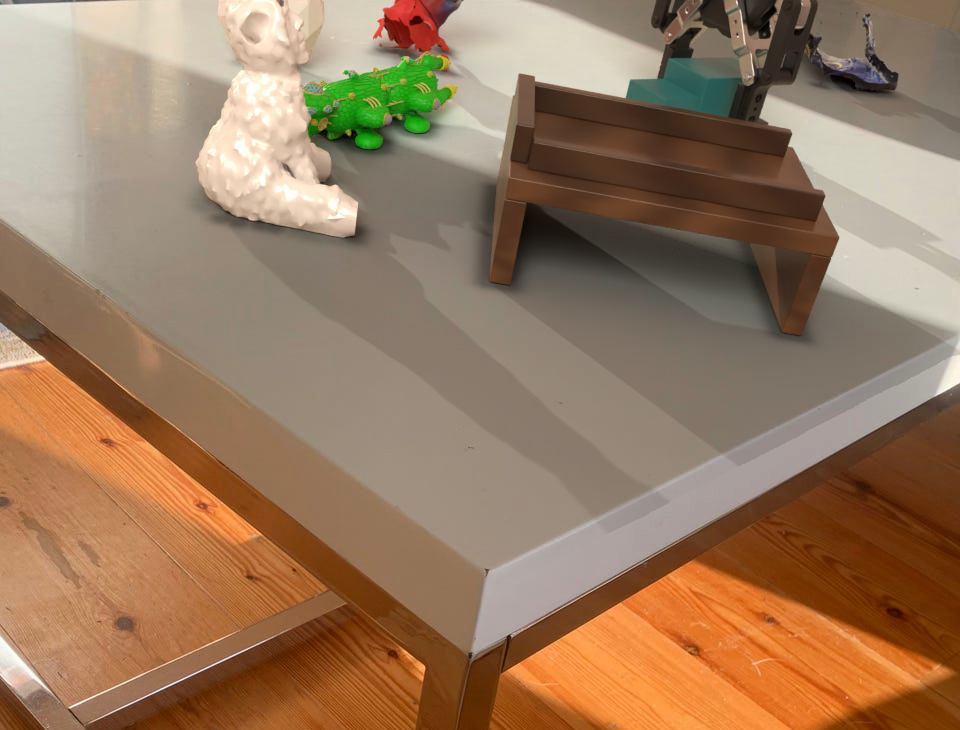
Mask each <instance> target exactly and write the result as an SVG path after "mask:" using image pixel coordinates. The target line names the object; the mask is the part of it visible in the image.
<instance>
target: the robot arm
mask: <svg viewBox="0 0 960 730" xmlns="http://www.w3.org/2000/svg"><path fill="white" fill-rule="evenodd" d="M672 1H673V0H655V4H654V8H653V11H652V15H651V19H650V24H651V27H652V28H653V29H655V30H656V29H657V30H659V31H660V33H661V34H662V40H663V42H664V44H665V46H664V49H663V54H662V57H661V62H660V65H659V70H658V72H657V77H656V79H664V75H665V71H666V68H667V64H668V60H669V58H693V54H694V48H692V47H691V46H690V45H692V44H694V43H695V42H696V41H697V40H698V39H699V37H700V36H701V35H703V34H704V33H705V31H707V30H708V29H716V30H717V31H718V32H719V33H720V34H721V35H722V36H724V37H726V38H727V39H731V40H730V41H731V47H732V51H733V53H734V55H736V56H737V57H738V60H739V64H740V71H741V79H742V83H738V86H737V90H736V93H735V96H734V99H733V103H732V106H731V109H730V112H729V116H728V118H734V119H739V120H744V121H749V122H755V123H757V122H758V119H759V118H760V117H759V115H760V116H761V114H760V111H761V109H762V110H763V108H762V106H763V107H764V105H763V103H764V104H765V102H764V100H765V101H766V99H765V97H766V98H767V96H766V94H767V95H768V92H769V90H770V88H771V87H773V86H791V85H793V84H795V82H796V80H797V76H798V73H799V70H800V67H801V63H802V60H803V58H804V57H803V56H804V54H805V51H806V50H805V47H806V44H807V41H808V38H809V34H810V33H811V31H812V28H813V26H814V25H813V24H814V21H815V18H816V16H817V11H818V9H819V8H818V7H819V2H818V0H674V2H673V5H672V9H671V11H670V12H669V10H670V7H671V4H672ZM756 34H758V38H752V37H754V36H755V35H756ZM767 91H768V92H767ZM761 112H762V111H761Z"/></svg>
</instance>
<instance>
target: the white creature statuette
mask: <svg viewBox="0 0 960 730" xmlns="http://www.w3.org/2000/svg"><path fill="white" fill-rule="evenodd" d="M224 5H225V9H226V12H227V16H226V19H225V26H226V30H227V34H228V37H229V39H230V40H229V39H228V40H229V44H230V47H231V48H232V50H233V51H234V53H235V56H236V61H237V62H238V63H239V64H240V65H241V66H242V68H243V69H241V70H240V71H239V72H238V73H237V75H236V76H235V77H234V78H233V79H232V80H231V84H230V85H231V86H230V87H229V88H228V90H227V99H226V101H225V102H224V103H223V107H222V108H221V110H220V112H221V113H220V114H221V115H220V118H219V119H218V120H216V123H215V124H214V125H213V126H212V127H211V129H210V130H209V133H208V136H207V137H206V139H204V141H203V146H202V148H201V149H200V151H198V155H199V156H198V158H197V159H196V160H195V162H194V163H195V165H196V168H197V169H196V172H197V173H198V177H197V178H198V183H199V185H201V186H202V188H203V189H204V190H203V191H204V193H205V195H206V196H207V198H209V199H210V201H213V202H215V203H216V204H218V205H219V206H220V207H221V208H222V209H223V210H224V211H225V212H229V214H231V215H232V216H235V217H236V218H243V219H248V220H249V221H252V222H256V221H260V222H263V223H265V224H266V223H268V224H272V225H276V226H282V227H287V228H293V229H297V230H302V231H307V232H312V233H316V234H317V233H318V234H321V235H327V236H331V237H336V238H343V239H344V238H347V237H353V236H355V235H356V227H357V219H358V210H359V201H358V200H356V199H354V198H353V197H352V196H350V195H348V194H347V193H345V192H344V190H343V189H342V188H340V186H339V185H338V184H333V185H327V184H324V183H325V182H326V181H327V180H328V178H329V177H330V175H331V172H332V171H331V170H332V158H331V155H330V153H329V151H327V150H325V149H323V148H321V147H319V146H317V145H316V144H315V143H314V142H311V143H310V141H312V139H311V137H310V138H309V136H308V125H309V123H310V122H311V115H310V114H309V113H308V107H306V103H305V98H304V93H303V87H304V86H303V80H302V75H301V74H300V73H299V70H298V68H297V67H299V66H301V65H307V64H308V63H309V62H310V54H308V52H307V50H306V42H305V40H304V37H305V36H304V34H303V32H302V31H301V29H300V28H301V27H302V26H303V25H304V21H303V19H302V18H301V17H300V16H299V15H297V14H296V13H295V12H293V11H292V10H290V9H289V6H288V1H287V0H230V1H227V2H226V3H225V4H224ZM228 37H227V38H228ZM322 183H323V184H322Z"/></svg>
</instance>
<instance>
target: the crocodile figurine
mask: <svg viewBox="0 0 960 730" xmlns="http://www.w3.org/2000/svg"><path fill="white" fill-rule="evenodd" d="M451 64H452V62H451V60H450V59H449V60H448V59H447V58H445V57H443V56H439V55H436V54H433V53H432V52H431V51H427V52H423V53H422V54H421V55H420V56H419V57H417V58H416V59H412V58H411V57H410V56H408V55H406V56H405V55H403V56H402V57H400V62H399V64H398V65H395V66H391V67H388V68H383V69H378V68H377V67H373V68H372V71H369V72H363V73H361V74H359V73H358V71H355V70H354V69H349V70H346V69H345V70H343V72H342V74H343V75H344V76H348V78H343V79H340V80H336V81H332V82H328V83H326V81H325V80H320V82H319V83H318V82H316V81H310V82H306V83H305V84H304V85H303V86H302V87H303V93H304V98H305V103H306V107H308V113H309V114H310V115H311V122H310V123H309V125H308V136H309V138H310V139H311V138H312V137H313V136H314V135H316V134H319V133H321V132H323V131H327V135H326V137H327V139H328V140H329V141H333V140H337V139H339V138H341V137H342V136H344V135H345V134H346V135H347V136H348V137H352V131H355V133H356V136H355V138H354V143H355V145H356V146H357V147H359V148H361V149H364V150H376V149H379V148H380V147H382V145H383V143H384V136H382V135H381V134H379V133H377V132H376V131H375V130H374V129H380V128H383V127H384V126H385V127H386V126H389V125H390V124H391V123H392V121H393V118H396V119H397V120H398V121H402V119H403V116H404V118H405V121H404V123H403V127H404V129H405V130H406V131H408V132H410V133H413V134H424V133H427V132H429V130H430V129H431V121H430V120H429V119H427V118H425V117H424V116H423V115H421V114H420V113H425V114H426V113H431V112H433V111H436V110H438V109H439V110H442V109H444V108H445V106H446V105H447V103H448V102H449V101H450V100H452V99H454V96H455V95H456V94H457V92H458V86H456V85H455V84H447V85H446V84H445V85H443V86H442V87H441V89H438V86H439V84H438V82H439V79H438V78H437V76H436V74H435V72H434V71H435V70H436V71H438V72H442V71H444V69H446V68H448V69H449V67H450V66H451ZM310 143H313V142H312V140H311V141H310Z"/></svg>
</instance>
